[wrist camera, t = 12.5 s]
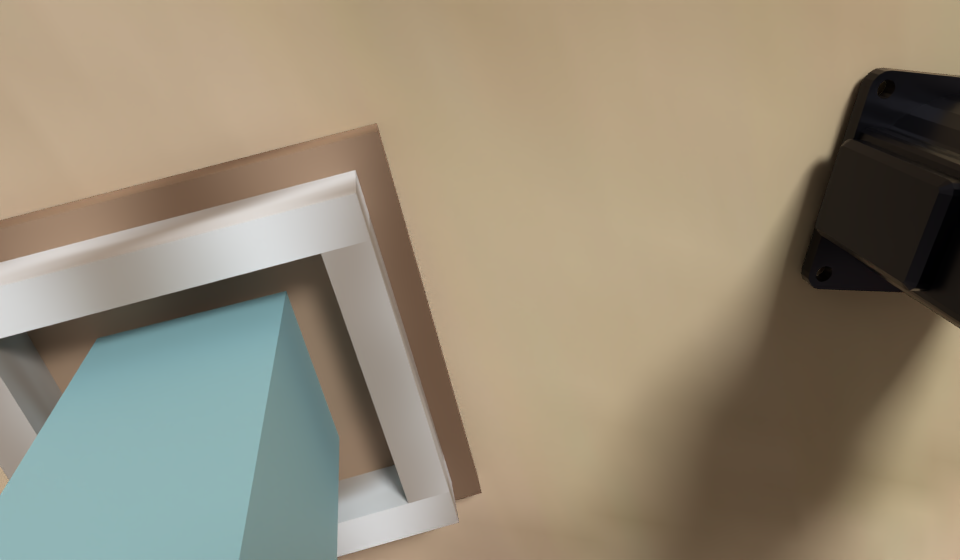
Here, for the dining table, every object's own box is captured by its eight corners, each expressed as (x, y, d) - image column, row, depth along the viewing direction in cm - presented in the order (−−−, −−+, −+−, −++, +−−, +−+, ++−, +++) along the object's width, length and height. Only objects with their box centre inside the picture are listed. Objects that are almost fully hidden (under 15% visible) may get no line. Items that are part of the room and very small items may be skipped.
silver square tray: (376, 123, 19) (380, 150, 16) (477, 476, 24) (491, 534, 22) (-96, 245, 18) (-161, 291, 16) (116, 578, 24) (90, 649, 21)
